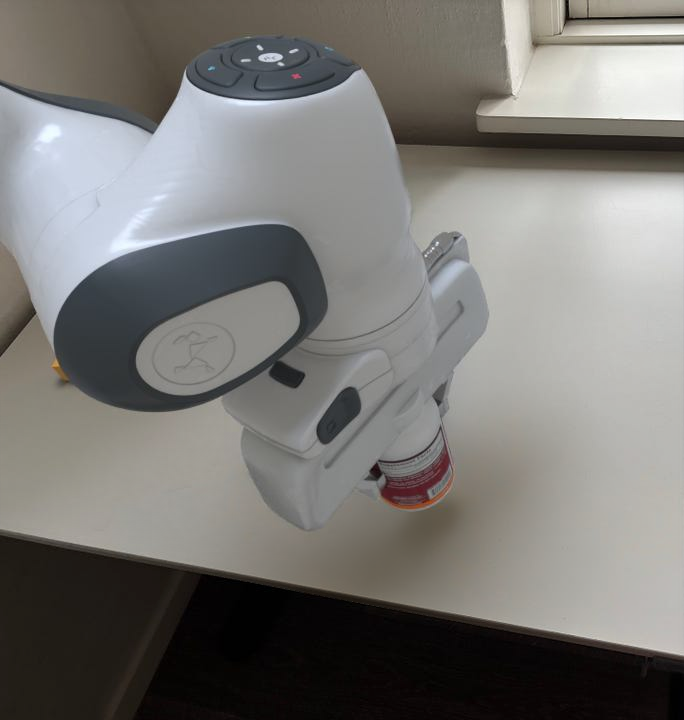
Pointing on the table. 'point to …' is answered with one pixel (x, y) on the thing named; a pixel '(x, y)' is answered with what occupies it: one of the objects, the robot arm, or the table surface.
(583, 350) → the table surface
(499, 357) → the table surface
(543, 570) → the table surface
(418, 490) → the pill bottle
